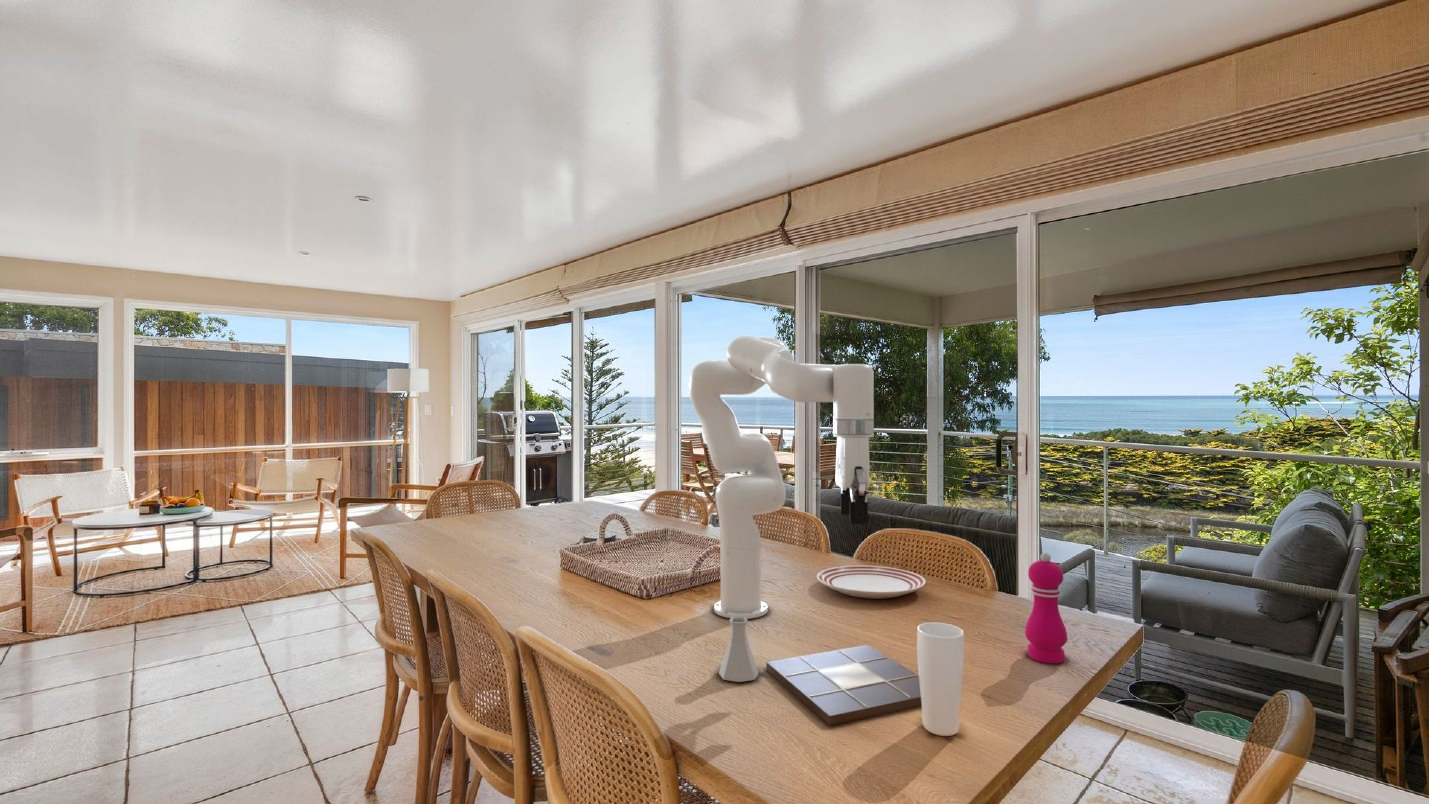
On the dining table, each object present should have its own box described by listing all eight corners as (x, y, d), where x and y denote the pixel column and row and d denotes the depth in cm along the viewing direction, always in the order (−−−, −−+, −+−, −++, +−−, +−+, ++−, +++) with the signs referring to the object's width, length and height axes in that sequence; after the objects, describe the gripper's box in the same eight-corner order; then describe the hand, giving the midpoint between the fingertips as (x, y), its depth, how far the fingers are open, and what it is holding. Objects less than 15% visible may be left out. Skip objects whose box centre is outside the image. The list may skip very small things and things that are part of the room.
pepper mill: (1050, 667, 120) (1050, 559, 120) (1016, 654, 127) (1016, 551, 126) (1075, 660, 124) (1075, 554, 123) (1041, 647, 130) (1040, 547, 130)
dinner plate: (805, 576, 182) (805, 564, 182) (900, 573, 185) (900, 561, 185) (834, 608, 155) (834, 594, 155) (944, 603, 158) (944, 589, 158)
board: (766, 670, 120) (766, 661, 120) (867, 652, 128) (867, 644, 128) (829, 726, 100) (829, 715, 100) (945, 700, 108) (945, 690, 108)
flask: (759, 683, 114) (759, 626, 114) (718, 683, 115) (717, 626, 114) (758, 666, 122) (757, 612, 121) (719, 666, 122) (718, 612, 122)
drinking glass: (910, 718, 102) (909, 622, 101) (952, 716, 102) (952, 621, 102) (928, 741, 95) (927, 638, 95) (973, 739, 95) (972, 636, 95)
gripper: (826, 426, 133) (826, 510, 133) (841, 431, 116) (841, 528, 116) (863, 426, 133) (863, 510, 133) (884, 431, 116) (884, 528, 116)
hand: (853, 518), depth 125 cm, fingers open, 9 cm apart
